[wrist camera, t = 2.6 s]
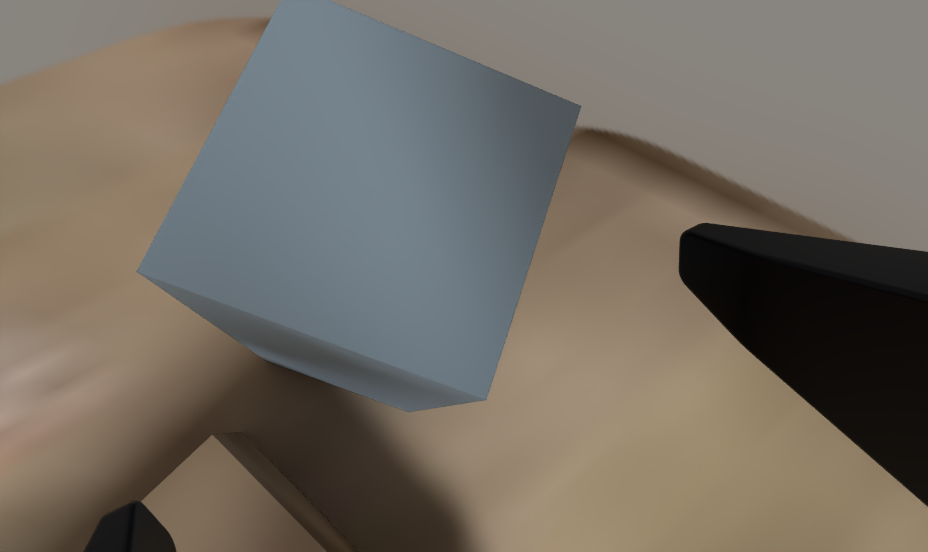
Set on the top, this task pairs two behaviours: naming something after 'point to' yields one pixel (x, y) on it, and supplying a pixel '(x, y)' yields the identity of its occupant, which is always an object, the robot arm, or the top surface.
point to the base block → (238, 504)
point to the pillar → (366, 208)
